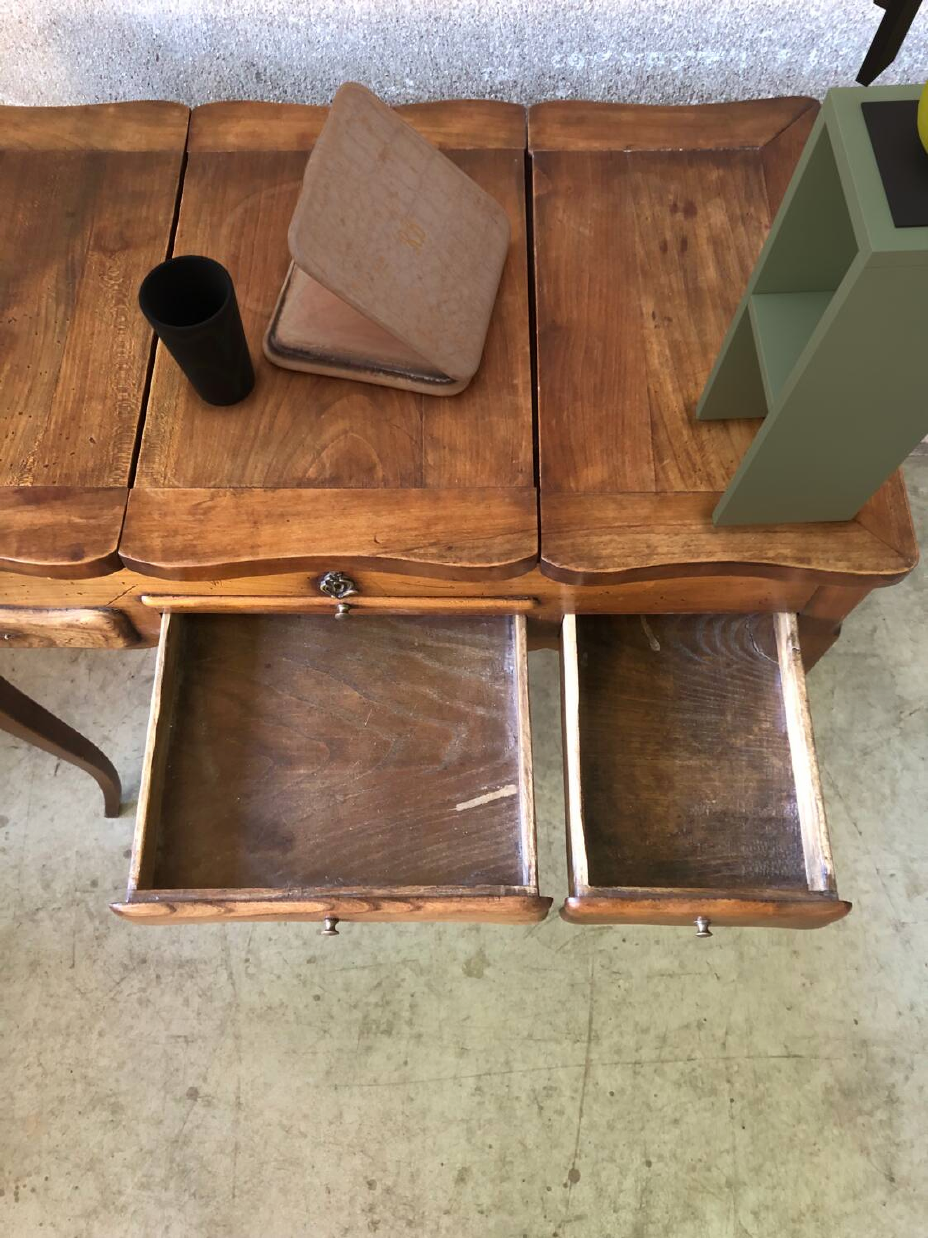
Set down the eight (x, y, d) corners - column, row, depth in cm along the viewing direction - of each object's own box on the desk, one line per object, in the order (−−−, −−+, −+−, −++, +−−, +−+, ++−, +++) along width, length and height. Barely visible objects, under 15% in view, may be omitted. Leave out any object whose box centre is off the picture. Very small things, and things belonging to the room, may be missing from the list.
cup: (262, 416, 80) (227, 330, 68) (179, 415, 80) (131, 329, 69) (269, 347, 82) (237, 253, 71) (190, 347, 82) (145, 253, 71)
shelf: (824, 403, 79) (1039, 74, 49) (850, 520, 75) (1102, 238, 45) (694, 409, 79) (830, 83, 49) (713, 526, 75) (874, 248, 45)
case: (472, 408, 80) (471, 284, 65) (255, 367, 82) (206, 238, 66) (516, 238, 87) (525, 91, 72) (315, 204, 88) (283, 54, 73)
